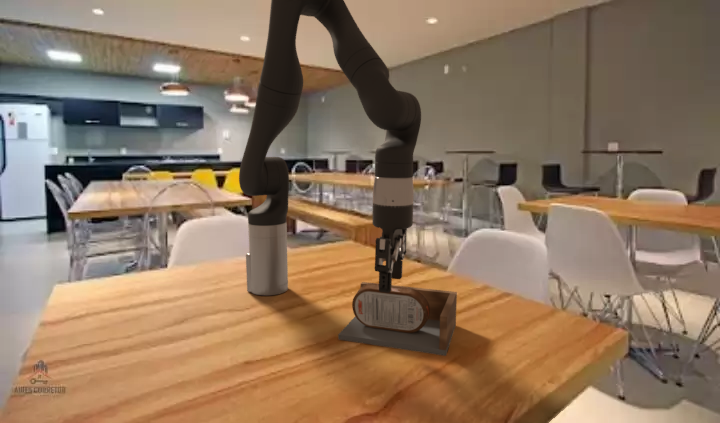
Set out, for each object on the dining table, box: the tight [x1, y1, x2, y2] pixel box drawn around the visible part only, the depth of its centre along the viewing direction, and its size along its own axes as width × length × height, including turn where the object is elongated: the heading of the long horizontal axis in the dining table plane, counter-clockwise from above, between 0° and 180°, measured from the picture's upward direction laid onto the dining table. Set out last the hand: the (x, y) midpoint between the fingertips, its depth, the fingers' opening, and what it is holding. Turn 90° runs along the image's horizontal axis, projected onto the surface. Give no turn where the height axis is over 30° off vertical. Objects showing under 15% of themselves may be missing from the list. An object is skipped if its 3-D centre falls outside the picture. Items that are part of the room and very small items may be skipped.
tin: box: [351, 283, 430, 333], centre depth 85 cm, size 15×3×8 cm, turn 71°
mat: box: [337, 316, 457, 357], centre depth 86 cm, size 20×14×1 cm
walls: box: [360, 281, 458, 350], centre depth 86 cm, size 20×14×6 cm
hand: (390, 284), depth 85 cm, fingers open, 8 cm apart
